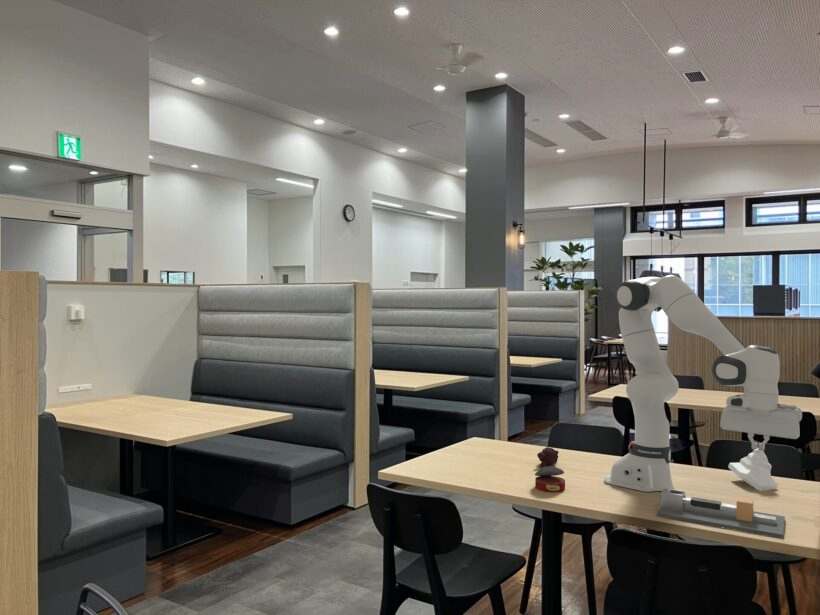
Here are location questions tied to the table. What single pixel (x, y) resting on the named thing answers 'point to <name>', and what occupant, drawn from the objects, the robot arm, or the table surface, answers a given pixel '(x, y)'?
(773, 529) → the mat
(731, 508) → the tongs arm
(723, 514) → the grey long bar
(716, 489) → the table surface
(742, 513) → the light orange block
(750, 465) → the white angular chunk
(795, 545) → the table surface
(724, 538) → the table surface
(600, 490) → the table surface
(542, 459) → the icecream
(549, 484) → the canned food
